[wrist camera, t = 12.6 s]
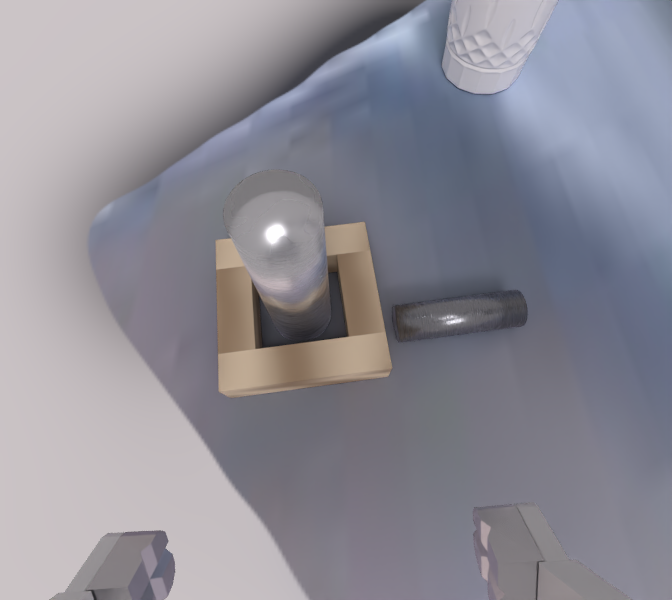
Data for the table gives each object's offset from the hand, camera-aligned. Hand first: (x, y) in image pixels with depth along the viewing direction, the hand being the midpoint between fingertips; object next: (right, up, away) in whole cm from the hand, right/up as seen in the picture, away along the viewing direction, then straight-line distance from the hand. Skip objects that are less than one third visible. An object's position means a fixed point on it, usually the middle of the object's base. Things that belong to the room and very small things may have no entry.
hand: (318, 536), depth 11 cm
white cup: (+13, +27, +25) cm, 39 cm away
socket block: (-2, +5, +17) cm, 18 cm away
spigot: (-2, +5, +17) cm, 18 cm away
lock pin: (+8, +4, +16) cm, 18 cm away
